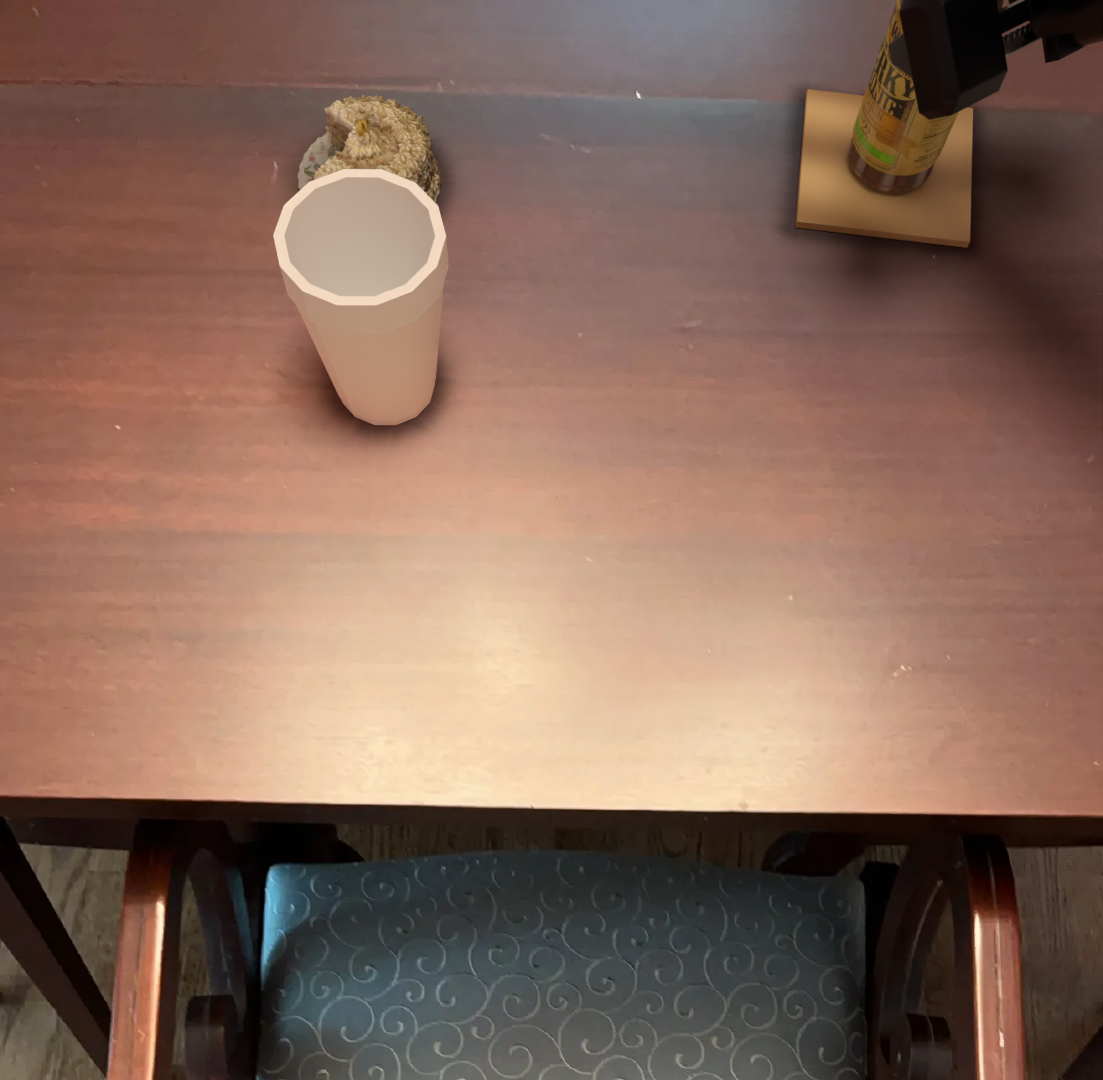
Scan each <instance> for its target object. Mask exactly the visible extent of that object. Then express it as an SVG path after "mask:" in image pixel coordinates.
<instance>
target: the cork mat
mask: <svg viewBox="0 0 1103 1080" xmlns="http://www.w3.org/2000/svg"><path fill="white" fill-rule="evenodd" d="M864 95H865V94H864ZM864 95H862V94H853V93H847V92H838V91H828V90H819V89H811V88H807V89H806V93H805V96H804V109H803V111H804V112H803V122H802V123H803V124H802V134H801V135H802V136H801V148H800V149H801V151H800V161H799V173H798V187H797V200H796V211H795V212H796V213H795V222H794V223H795V225H794V227H795V228H797V229H803V230H804V229H805V230H806V229H807V230H814V231H822V232H830V233H831V232H832V233H839V234H848V235H855V236H863V237H864V236H865V237H871V238H872V237H873V238H882V239H889V240H898V241H907V242H914V243H915V242H916V243H923V244H933V245H941V246H942V245H943V246H951V247H958V248H966V249H967V248H968V247H969V245H970V243H971V219H972V217H971V216H972V176H973V175H972V173H973V135H974V134H973V129H974V108H973V107H967V108H965V109H963V110H961V111H959V113H958V115H957V117H956V120H955V122H954V124H953V126H952V129H951V131H950V133H949V135H948V138H947V140H946V142H945V145H944V147H943V149H942V152H941V154H940V156H939V157H938V159H937V161H936V162H935V163H934V166H933V169H932V172H931V174H930V175H929V177H928V178H927V179H926V180H925V181H924V182H923V183H922V184H920V185H919V186H918V187H916V188H915V189H913V190H911V191H909V192H906V193H901V194H894V193H886V192H882V191H879V190H875V189H872V188H870V187H868V186H867V185H866V184H865V183H864V182H863V181H862V180H861V179H860V178H859V177H858V176H857V175H856V173H855V172H854V171H853V169H852V168H851V165H850V156H849V154H850V145H851V140H852V137H853V135H852V134H853V128H854V124H855V121H856V118H857V115H858V112H859V110H860V107H861V104H862V101H863V98H864Z"/></svg>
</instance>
